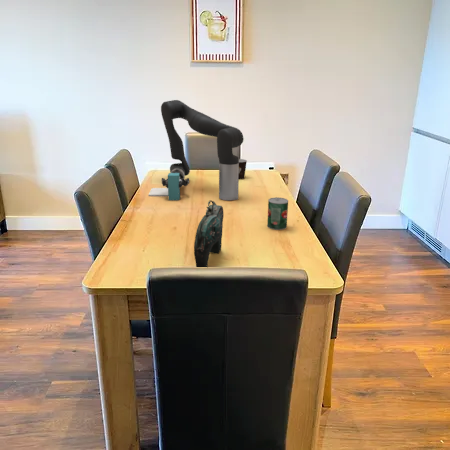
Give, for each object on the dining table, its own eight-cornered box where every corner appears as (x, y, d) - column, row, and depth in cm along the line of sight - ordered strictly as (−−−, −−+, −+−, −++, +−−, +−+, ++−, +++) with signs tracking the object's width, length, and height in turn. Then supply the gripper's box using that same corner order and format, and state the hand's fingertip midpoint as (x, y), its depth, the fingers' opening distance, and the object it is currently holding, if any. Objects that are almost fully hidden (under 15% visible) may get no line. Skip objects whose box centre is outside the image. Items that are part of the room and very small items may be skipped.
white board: (175, 189, 229) (175, 188, 228) (173, 196, 217) (173, 194, 217) (152, 189, 229) (152, 187, 228) (148, 196, 217) (148, 194, 217)
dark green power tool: (210, 247, 159) (210, 193, 152) (227, 249, 157) (228, 194, 150) (190, 270, 141) (189, 210, 134) (210, 273, 139) (209, 212, 132)
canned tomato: (289, 229, 176) (291, 202, 172) (269, 230, 175) (271, 203, 171) (283, 222, 184) (285, 197, 180) (265, 223, 182) (266, 197, 179)
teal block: (180, 197, 216) (179, 173, 212) (179, 200, 211) (178, 175, 207) (169, 197, 216) (168, 173, 212) (168, 200, 211) (167, 175, 207)
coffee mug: (249, 177, 254) (249, 160, 250) (241, 180, 247) (241, 162, 243) (231, 174, 260) (231, 157, 256) (223, 177, 253) (223, 160, 249)
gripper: (162, 169, 223) (157, 178, 207) (190, 169, 223) (188, 178, 207) (162, 184, 226) (158, 193, 210) (191, 184, 226) (188, 193, 210)
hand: (173, 186), depth 209 cm, fingers closed on teal block, 5 cm apart
